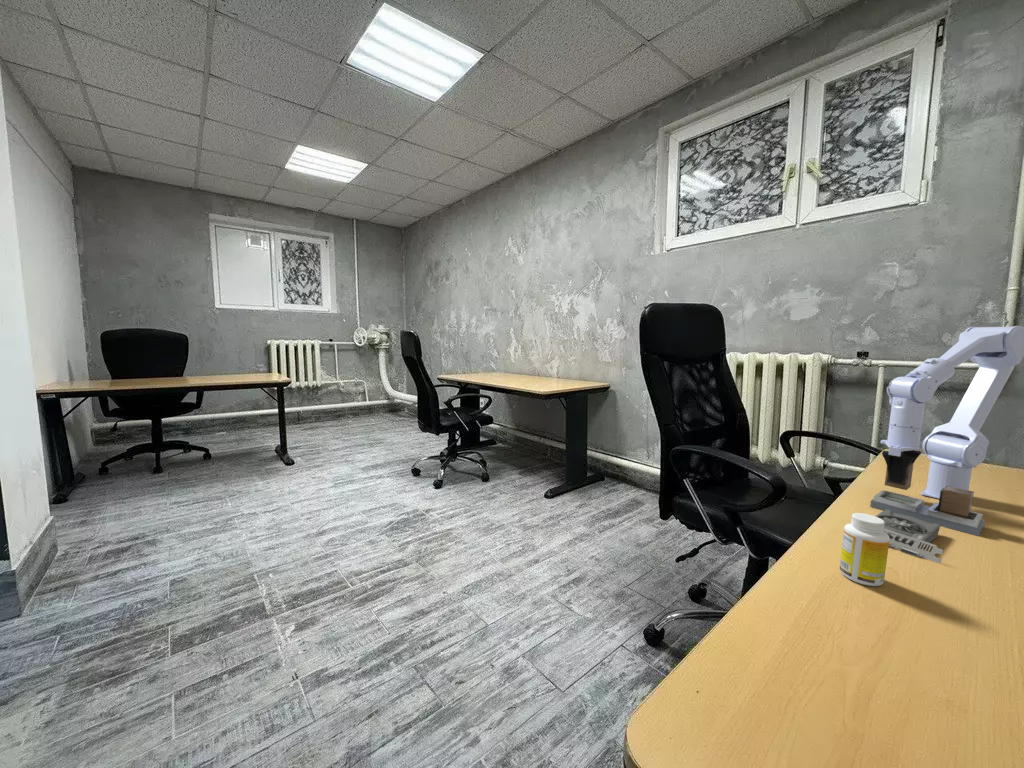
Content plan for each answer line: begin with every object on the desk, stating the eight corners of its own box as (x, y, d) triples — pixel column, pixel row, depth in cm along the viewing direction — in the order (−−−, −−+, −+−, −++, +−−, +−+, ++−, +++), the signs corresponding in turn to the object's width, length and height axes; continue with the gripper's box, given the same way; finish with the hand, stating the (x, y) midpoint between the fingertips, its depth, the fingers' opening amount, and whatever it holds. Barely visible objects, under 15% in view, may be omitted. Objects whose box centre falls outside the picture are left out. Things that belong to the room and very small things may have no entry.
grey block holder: (879, 499, 100) (883, 470, 99) (984, 526, 86) (989, 492, 86) (870, 506, 96) (874, 476, 95) (978, 536, 82) (984, 500, 81)
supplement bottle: (890, 582, 65) (899, 522, 64) (872, 591, 63) (881, 528, 61) (849, 565, 70) (856, 508, 69) (831, 572, 68) (838, 513, 66)
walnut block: (888, 482, 104) (891, 459, 103) (910, 486, 101) (913, 463, 100) (884, 485, 101) (887, 462, 101) (905, 490, 98) (909, 466, 97)
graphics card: (942, 549, 70) (855, 520, 80) (938, 569, 71) (852, 538, 81) (962, 527, 80) (882, 504, 90) (958, 545, 80) (879, 520, 90)
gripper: (891, 420, 107) (884, 470, 108) (875, 426, 98) (868, 480, 100) (929, 425, 101) (921, 477, 102) (915, 432, 92) (907, 489, 94)
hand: (898, 479), depth 101 cm, fingers closed on walnut block, 4 cm apart
